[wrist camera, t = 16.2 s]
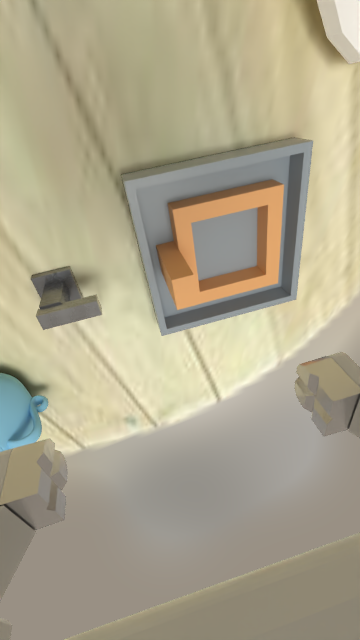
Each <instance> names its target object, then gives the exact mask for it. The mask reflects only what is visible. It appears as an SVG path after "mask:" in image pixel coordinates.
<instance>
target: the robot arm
mask: <svg viewBox="0 0 360 640" xmlns="http://www.w3.org/2000/svg"><path fill="white" fill-rule="evenodd" d="M296 372H297V374H298V375H299V377H298V379H297V380H296V381H295V392H296V396H297V398H298V399H299V402H300V403H301V405H302V406H303V408H305V409H307V410H309V411H310V412H312V421H313V422H314V423H315V425H316V426H317V428H318V429H319V430H320V432H321V433H322V435H323V436H327V435H331V434H334V433H337V432H341V431H345V430H348V429H349V430H348V431H349V432H351V433H353V434H354V435H356V436H357V437H359V438H360V367H359V366H358V365H357V364H356V363H355V362H354V361H353V360H352V359H351V358H350V357H349V356H348V355H347V354H345V353H343V352H340V353H336V354H333V355H330V356H327V357H326V356H325V357H322V358H318V359H315V360H312V361H309V362H305V363H302V364H300V365H298V367H297V371H296ZM54 448H55V443H54V442H53V441H52V440H51V439H50V438H49V439H46V440H42V441H38V442H35V443H31V444H27V445H24V446H20V447H16V448H12V449H9V450H5V451H2V452H0V601H1V599H2V597H3V595H4V593H5V591H6V589H7V587H8V585H9V583H10V581H11V579H12V577H13V575H14V573H15V572H16V570H17V568H18V566H19V564H20V562H21V560H22V558H23V556H24V554H25V552H26V550H27V548H28V546H29V545H30V543H31V540H32V539H33V537H34V535H35V532H36V531H35V530H37V529H40V528H43V527H46V526H49V525H52V524H55V523H57V522H60V521H63V520H64V519H65V505H66V496H65V494H64V493H63V492H62V491H61V490H62V489H63V487H64V485H65V484H66V482H67V465H66V461H65V458H64V456H63V454H62V453H61V452H60V451H57V450H54ZM11 629H12V625H11V624H10V622H9V621H8V620H5V619H2V618H0V640H10V636H11ZM64 640H360V533H357V534H355V535H352V536H349V537H346V538H343V539H341V540H338V541H335V542H332V543H330V544H327V545H324V546H321V547H319V548H316V549H313V550H310V551H307V552H305V553H302V554H299V555H296V556H294V557H291V558H288V559H285V560H283V561H280V562H277V563H274V564H271V565H269V566H266V567H263V568H260V569H258V570H255V571H252V572H249V573H247V574H244V575H241V576H238V577H235V578H233V579H230V580H227V581H224V582H222V583H219V584H216V585H213V586H211V587H208V588H205V589H202V590H199V591H197V592H194V593H191V594H188V595H186V596H183V597H180V598H177V599H175V600H172V601H169V602H166V603H164V604H161V605H158V606H155V607H152V608H150V609H147V610H144V611H141V612H139V613H136V614H133V615H130V616H128V617H125V618H122V619H119V620H116V621H114V622H111V623H108V624H105V625H103V626H100V627H97V628H94V629H92V630H89V631H86V632H83V633H80V634H78V635H75V636H72V637H69V638H67V639H64Z"/></svg>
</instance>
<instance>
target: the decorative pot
mask: <svg viewBox="0 0 360 640" xmlns="http://www.w3.org/2000/svg"><path fill="white" fill-rule="evenodd" d="M39 404H41V405H40V406H38V405H39ZM47 406H48V400H47V398H46V397H44V396H40V395H38V396H34V397H31V395H30V394H29V392H28V391H27V389H26V388H25V387H24V385H23V384H22V383H21V382H20V381H19V380H18V379H16V378H15V377H13V376H11V375H8V374H4V373H0V452H2V451H5V450H9V449H12V448H16V447H20V446H24V445H27V444H31V443H35V442H36V441H37V440H38V439H39V437H40V435H41V431H42V425H41V421H40V417H39V415H38V412H42V411H44V410H45V409H46V408H47Z"/></svg>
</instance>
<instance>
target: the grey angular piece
mask: <svg viewBox="0 0 360 640" xmlns="http://www.w3.org/2000/svg"><path fill="white" fill-rule="evenodd" d="M31 280H32V282H33V284H34V286H35V288H36V290H37V292H38V294H39V296H40V297H41V301H40V305H39V308H40V309H38V311H37V315H36V317H37V319H38V321H39V323H40V325H41V326H42V328H43V330H45V329H49V328H52V327H56V326H60V325H64V324H68V323H72V322H76V321H79V320H83V319H87V318H91V317H95V316H99V315H102V308H101V305H100V302H99V300H98V297H97V295H93V296H89V297H85V298H83V296H82V294H81V292H80V289H79V287H78V284H77V282H76V280H75V277H74V275H73V272H72V270H71V268H70V266H69V267H64V268H60V269H56V270H52V271H48V272H44V273H40V274H35V275H32V277H31Z"/></svg>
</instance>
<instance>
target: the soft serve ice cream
mask: <svg viewBox="0 0 360 640" xmlns="http://www.w3.org/2000/svg"><path fill="white" fill-rule="evenodd" d="M317 4H318V7H319V11H320V14H321V18H322V22H323V25H324V29H325V32H326V36H327V38H328V39H329V41H330V42H331V43H332V44H333V45H334V47H335V48H336V49H337V50H338V51H339V53H340V54H341V55H342V56H343V57H344V59H345V60H346V61H347V62H348V63H349V64H352V63H356V62H360V0H317Z"/></svg>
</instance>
